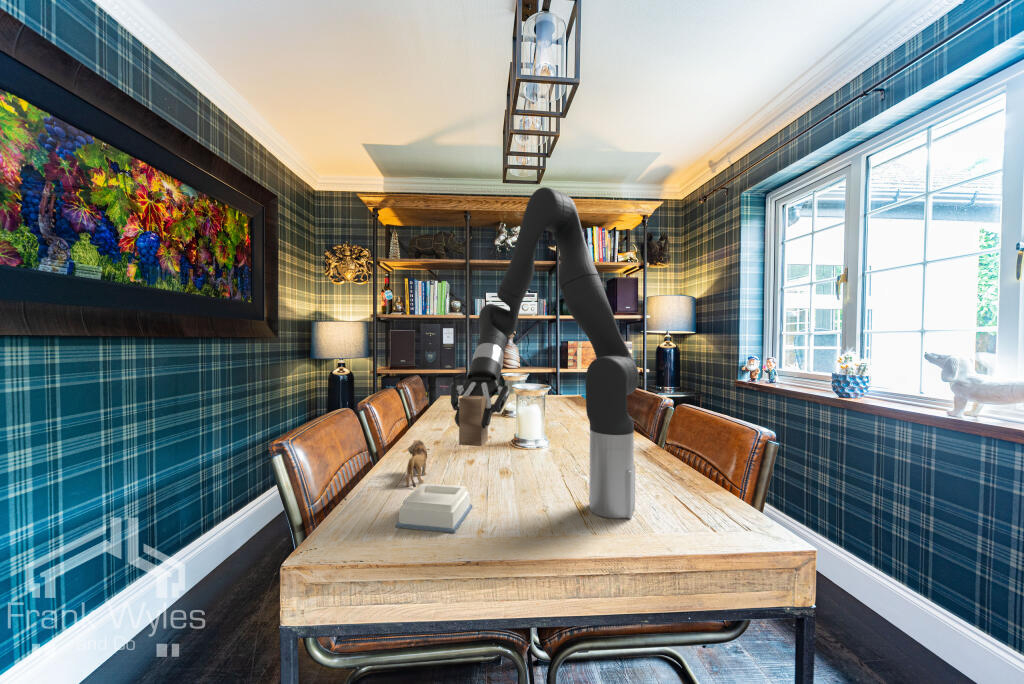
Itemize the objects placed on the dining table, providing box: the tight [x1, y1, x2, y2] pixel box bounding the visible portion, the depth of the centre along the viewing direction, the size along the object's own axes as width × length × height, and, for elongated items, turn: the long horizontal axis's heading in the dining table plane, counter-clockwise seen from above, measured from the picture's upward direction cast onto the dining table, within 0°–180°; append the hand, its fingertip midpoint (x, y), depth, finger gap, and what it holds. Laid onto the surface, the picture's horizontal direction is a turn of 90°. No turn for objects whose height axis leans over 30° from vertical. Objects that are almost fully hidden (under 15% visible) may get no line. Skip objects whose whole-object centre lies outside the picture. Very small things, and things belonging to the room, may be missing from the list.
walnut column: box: [458, 395, 489, 447], centre depth 90 cm, size 5×5×10 cm
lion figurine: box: [405, 439, 428, 488], centre depth 107 cm, size 15×5×9 cm, turn 11°
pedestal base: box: [395, 482, 474, 534], centre depth 84 cm, size 12×12×5 cm
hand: (471, 425), depth 88 cm, fingers closed on walnut column, 5 cm apart
